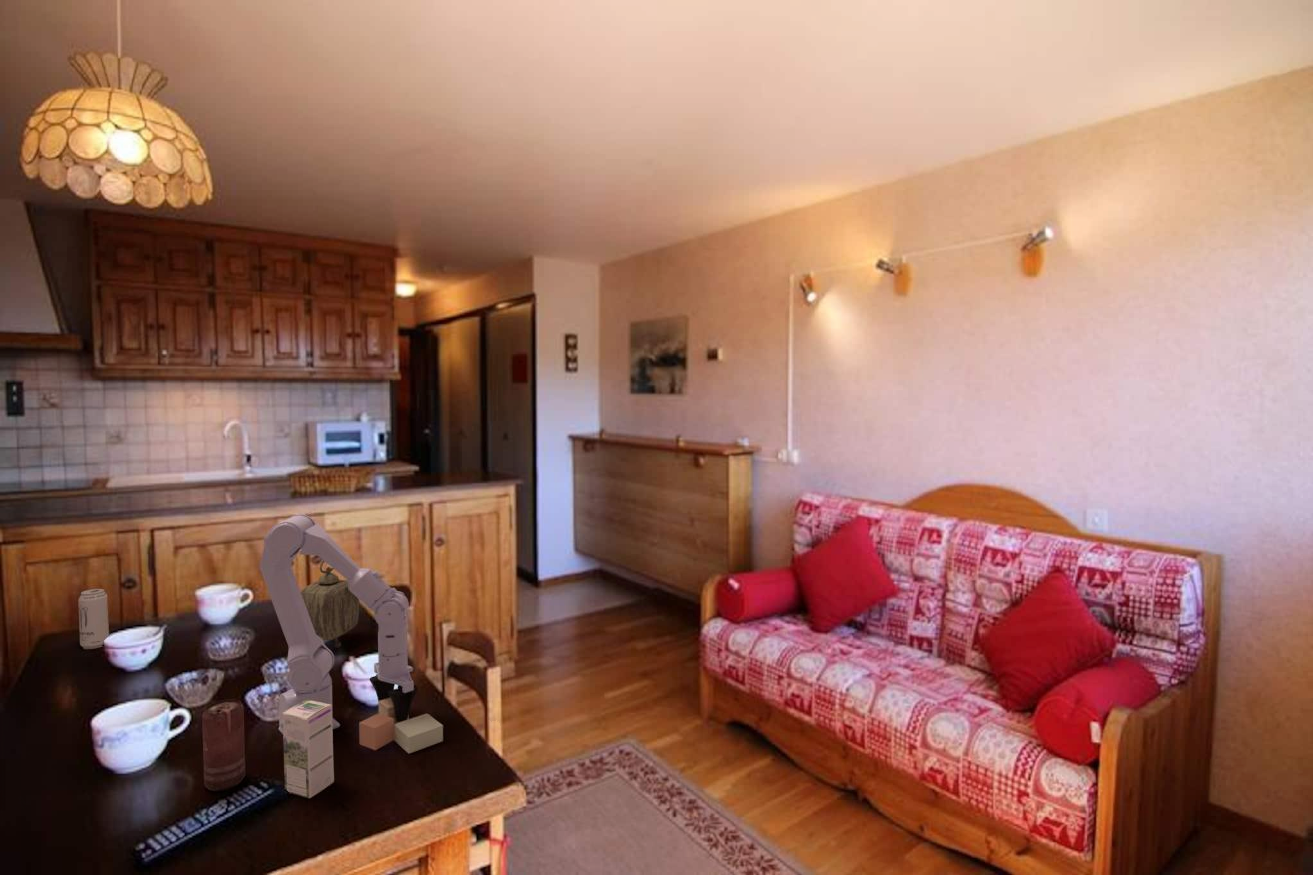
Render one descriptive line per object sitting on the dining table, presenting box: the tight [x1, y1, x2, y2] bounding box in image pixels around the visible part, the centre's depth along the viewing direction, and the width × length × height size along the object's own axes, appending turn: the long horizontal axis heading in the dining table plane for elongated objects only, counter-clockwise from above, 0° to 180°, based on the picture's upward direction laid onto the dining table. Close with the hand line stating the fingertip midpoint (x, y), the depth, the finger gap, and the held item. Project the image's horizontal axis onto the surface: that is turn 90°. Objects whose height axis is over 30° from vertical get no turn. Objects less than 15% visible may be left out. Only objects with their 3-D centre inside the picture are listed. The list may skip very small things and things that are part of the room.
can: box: [201, 698, 246, 792], centre depth 118 cm, size 6×6×14 cm
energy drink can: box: [77, 588, 110, 650], centre depth 181 cm, size 6×6×15 cm
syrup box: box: [282, 700, 335, 799], centre depth 117 cm, size 6×6×14 cm
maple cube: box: [377, 697, 410, 724], centre depth 141 cm, size 4×4×4 cm
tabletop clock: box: [300, 560, 360, 649], centre depth 181 cm, size 14×9×25 cm, turn 172°
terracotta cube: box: [358, 712, 394, 751], centre depth 133 cm, size 4×4×4 cm
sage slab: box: [393, 713, 444, 754], centre depth 134 cm, size 7×7×4 cm
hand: (393, 714), depth 141 cm, fingers open, 7 cm apart
